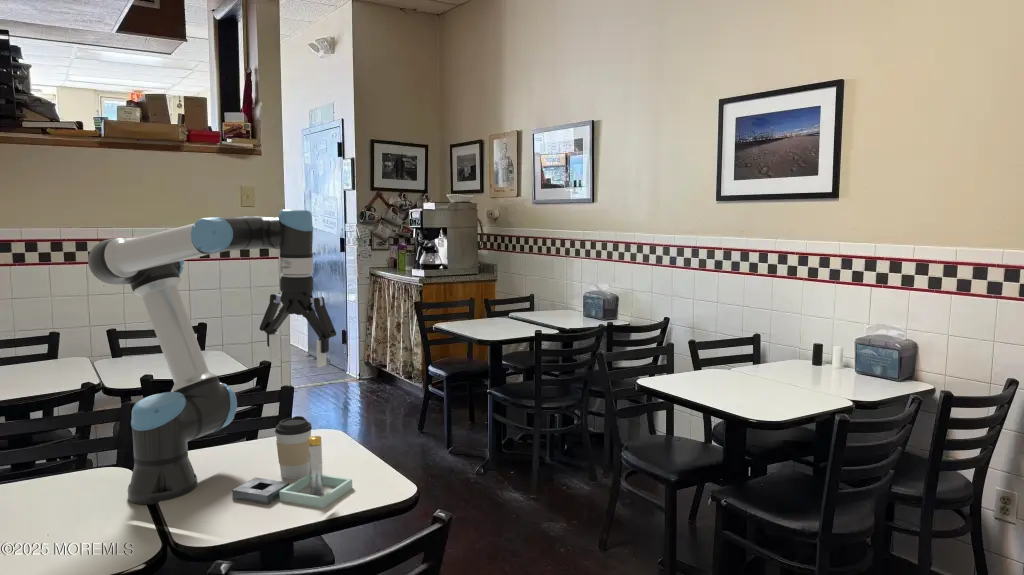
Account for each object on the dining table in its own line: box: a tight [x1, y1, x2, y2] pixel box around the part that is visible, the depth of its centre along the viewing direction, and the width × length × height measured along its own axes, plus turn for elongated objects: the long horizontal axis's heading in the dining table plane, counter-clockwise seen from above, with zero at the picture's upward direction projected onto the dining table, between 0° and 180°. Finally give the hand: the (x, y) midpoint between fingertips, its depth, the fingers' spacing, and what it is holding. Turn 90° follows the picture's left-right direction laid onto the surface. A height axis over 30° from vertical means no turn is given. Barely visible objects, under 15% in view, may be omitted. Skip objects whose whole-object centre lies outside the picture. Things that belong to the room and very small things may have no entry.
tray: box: [279, 474, 353, 509], centre depth 164 cm, size 12×12×3 cm
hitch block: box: [231, 476, 291, 506], centre depth 163 cm, size 10×8×3 cm
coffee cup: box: [274, 415, 313, 480], centre depth 176 cm, size 9×9×15 cm
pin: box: [308, 435, 324, 497], centre depth 163 cm, size 3×3×14 cm
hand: (297, 363), depth 164 cm, fingers open, 13 cm apart
